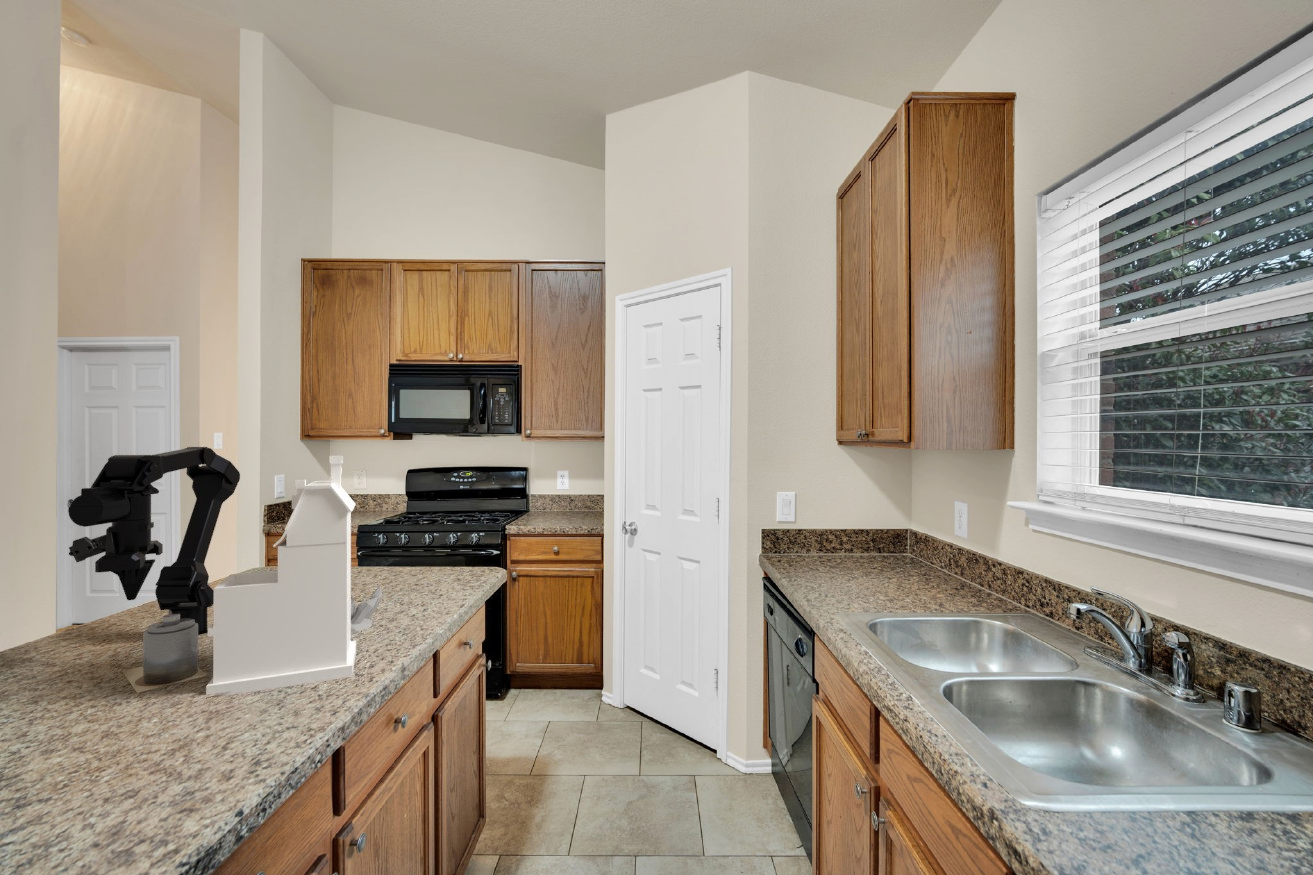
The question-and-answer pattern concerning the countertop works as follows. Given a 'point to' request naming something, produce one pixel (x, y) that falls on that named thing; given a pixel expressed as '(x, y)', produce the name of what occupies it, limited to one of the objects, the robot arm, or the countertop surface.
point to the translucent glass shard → (364, 611)
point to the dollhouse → (291, 601)
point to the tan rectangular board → (137, 682)
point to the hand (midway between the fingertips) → (131, 599)
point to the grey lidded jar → (170, 650)
